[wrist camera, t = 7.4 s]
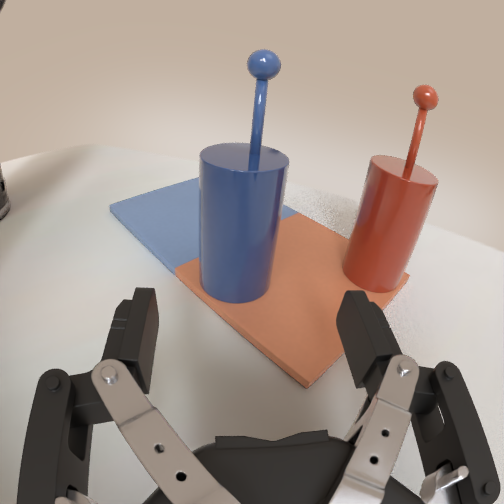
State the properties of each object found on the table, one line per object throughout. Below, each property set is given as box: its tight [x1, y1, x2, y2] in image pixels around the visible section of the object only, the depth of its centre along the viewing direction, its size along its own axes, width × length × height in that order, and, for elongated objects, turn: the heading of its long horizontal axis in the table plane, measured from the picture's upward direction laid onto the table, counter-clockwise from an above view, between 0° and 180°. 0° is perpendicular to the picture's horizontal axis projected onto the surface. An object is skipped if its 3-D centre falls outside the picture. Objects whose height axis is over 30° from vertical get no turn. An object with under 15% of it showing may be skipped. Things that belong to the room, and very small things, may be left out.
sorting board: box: [109, 177, 410, 388], centre depth 31 cm, size 16×28×1 cm, turn 44°
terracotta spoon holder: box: [342, 85, 438, 293], centre depth 23 cm, size 6×6×17 cm
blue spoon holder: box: [198, 49, 289, 304], centre depth 20 cm, size 6×6×17 cm
